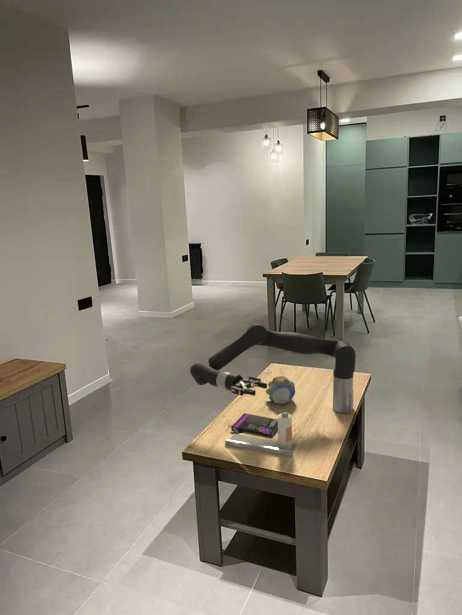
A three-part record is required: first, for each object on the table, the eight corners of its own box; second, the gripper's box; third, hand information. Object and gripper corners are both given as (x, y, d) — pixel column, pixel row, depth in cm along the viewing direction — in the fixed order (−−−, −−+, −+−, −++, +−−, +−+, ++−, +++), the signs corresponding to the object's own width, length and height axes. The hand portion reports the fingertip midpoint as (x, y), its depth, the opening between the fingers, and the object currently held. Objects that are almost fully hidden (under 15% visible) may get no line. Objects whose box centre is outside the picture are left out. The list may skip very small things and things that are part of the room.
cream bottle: (275, 447, 188) (275, 412, 184) (286, 443, 190) (286, 409, 187) (283, 453, 183) (283, 418, 179) (294, 449, 185) (294, 414, 182)
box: (231, 433, 204) (272, 441, 195) (230, 426, 203) (271, 434, 195) (244, 419, 216) (283, 426, 207) (244, 412, 215) (283, 419, 207)
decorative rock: (281, 378, 221) (297, 370, 233) (255, 381, 231) (272, 373, 243) (288, 406, 221) (304, 397, 233) (262, 408, 231) (278, 399, 243)
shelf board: (297, 447, 189) (297, 444, 189) (291, 459, 180) (291, 456, 180) (234, 436, 200) (234, 433, 199) (225, 447, 191) (225, 445, 190)
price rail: (292, 455, 181) (292, 450, 181) (291, 456, 180) (291, 452, 180) (226, 443, 192) (226, 439, 191) (225, 445, 190) (224, 440, 190)
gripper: (218, 378, 191) (250, 386, 182) (238, 368, 202) (270, 375, 193) (219, 395, 193) (251, 404, 183) (239, 384, 204) (270, 392, 194)
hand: (261, 389), depth 188 cm, fingers open, 8 cm apart
